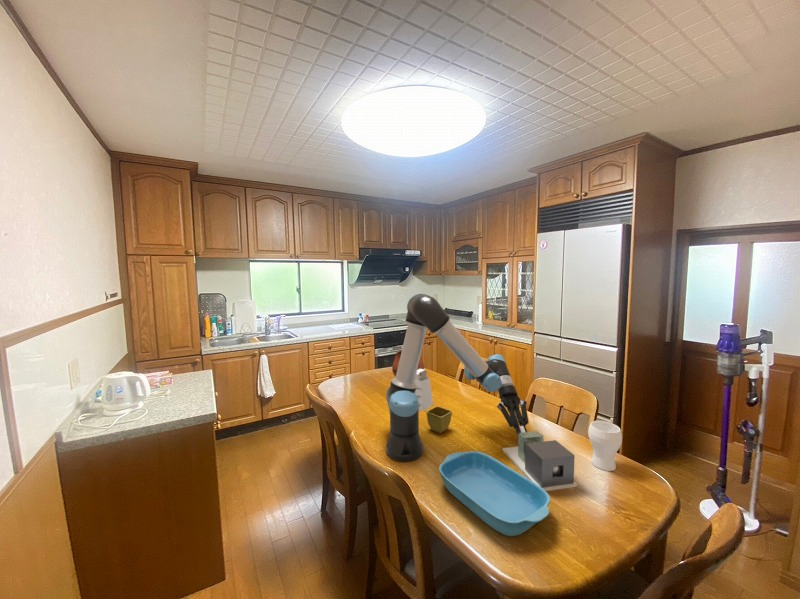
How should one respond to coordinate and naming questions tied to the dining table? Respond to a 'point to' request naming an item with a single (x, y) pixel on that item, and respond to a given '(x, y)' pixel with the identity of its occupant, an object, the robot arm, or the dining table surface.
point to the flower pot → (439, 418)
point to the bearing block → (549, 463)
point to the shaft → (531, 438)
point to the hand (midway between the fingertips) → (526, 443)
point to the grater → (423, 390)
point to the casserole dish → (495, 492)
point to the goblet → (397, 359)
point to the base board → (513, 455)
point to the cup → (604, 444)
